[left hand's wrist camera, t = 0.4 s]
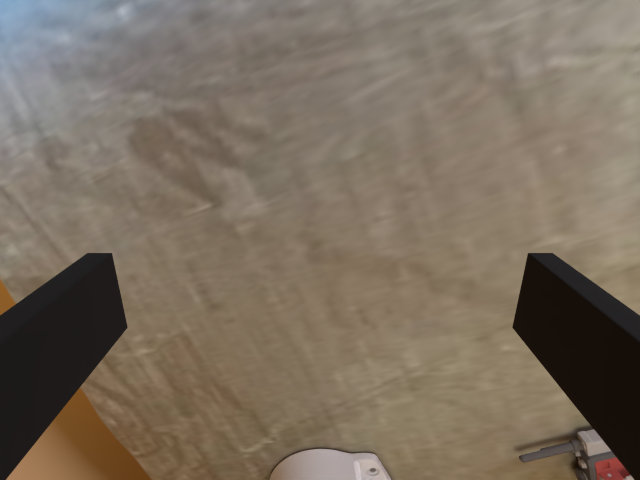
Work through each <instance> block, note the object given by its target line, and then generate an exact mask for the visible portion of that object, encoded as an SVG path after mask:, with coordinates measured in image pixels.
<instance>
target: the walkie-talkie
mask: <svg viewBox="0 0 640 480" xmlns="http://www.w3.org/2000/svg"><path fill="white" fill-rule="evenodd" d="M577 434H578V439H574V440H570V442H567V443H563V444H559V445H555V446H550V447H546V448H542V449H540V451H537V452H533V453H529V454H525V455H521V456H519V459H520V460H521V461H522V462H528V461H533V460H537V459H541V458H545V457H549V456H554V455H558V454H562V453H566V452H570V451H573V453H574V455H575V454H576V455H575V456H577V458H578V465H579V468H575V470H574V471H575V474H576V476H577V479H578V480H634V479H633V477H632V476H631V475H630V474H629V472H628V471H627V470H626V469H625V467H624V466H623V465H622V464H621V462H620V461H619V460H618V459H617V457H616V456H615V455H614V454H613V452H612V451H611V450H610V449H609V447H608V446H607V445H606V444H605V442H604V441H603V440H602V439H601V437H600V436H599V435H598V434H597V432H596V431H595V430H594V429H592V430H588V431H580V432H577Z"/></svg>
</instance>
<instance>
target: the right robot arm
mask: <svg viewBox="0 0 640 480" xmlns="http://www.w3.org/2000/svg"><path fill="white" fill-rule="evenodd" d="M269 480H391V478H390V476H389V475H388V473H387V472H386V470H385V468H384V467H383V465H382V464H381V462H380V460H379V459H378V457H377V456H376V455H375V454H373V453H353V454H352V453H345V452H341V451H337V450H331V449H312V450H306V451H302V452H299V453H296V454H293V455H291V456H289V457H287V458H286V459H284V460H283V461H282V462H280V463H279V464H278V465H277V466H276V468H275V469H274V470H273V472H272V474H271V476H270V479H269Z"/></svg>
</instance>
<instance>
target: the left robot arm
mask: <svg viewBox="0 0 640 480" xmlns="http://www.w3.org/2000/svg"><path fill="white" fill-rule="evenodd" d="M126 329H127V323H126V318H125V313H124V309H123V304H122V299H121V294H120V290H119V285H118V280H117V275H116V271H115V266H114V261H113V256H112V253H87V254H86V255H84V256H83V257H81V258H80V259H79V260H77V261H76V262H75V263H73V264H72V265H70V266H69V267H68V268H66V269H65V270H63V271H62V272H61V273H59V274H58V275H56V276H55V277H54V278H52V279H51V280H49V281H48V282H47V283H45V284H44V285H42V286H41V287H40V288H38V289H37V290H35V291H34V292H33V293H31V294H30V295H28V296H27V297H26V298H24V299H23V300H21V301H20V302H19V303H17V304H16V305H14V306H13V307H12V308H10V309H9V310H7V311H6V312H5V313H3V314H2V315H0V480H6V479H7V477H8V476H9V475H10V474H11V472H12V471H13V470H14V469H15V467H16V466H17V465H18V464H19V462H20V461H21V460H22V459H23V457H24V456H25V455H26V454H27V452H28V451H29V450H30V449H31V447H32V446H33V445H34V444H35V442H36V441H37V440H38V439H39V437H40V436H41V435H42V434H43V432H44V431H45V430H46V429H47V427H48V426H49V425H50V424H51V422H52V421H53V420H54V419H55V417H56V416H57V415H58V414H59V412H60V411H61V410H62V409H63V407H64V406H65V405H66V404H67V402H68V401H69V400H70V399H71V397H72V396H73V395H74V394H75V392H76V391H77V390H78V389H79V387H80V386H81V385H82V384H83V382H84V381H85V380H86V379H87V377H88V376H89V375H90V374H91V372H92V371H93V370H94V369H95V367H96V366H97V365H98V364H99V362H100V361H101V360H102V359H103V357H104V356H105V355H106V354H107V352H108V351H109V350H110V349H111V347H112V346H113V345H114V344H115V342H116V341H117V340H118V339H119V337H120V336H121V335H122V334H123V332H124V331H125V330H126ZM513 329H514V330H515V331H516V332H517V334H518V335H519V336H520V337H521V339H522V340H523V341H524V342H525V344H526V345H527V346H528V347H529V349H530V350H531V351H532V352H533V354H534V355H535V356H536V357H537V359H538V360H539V361H540V362H541V364H542V365H543V366H544V367H545V369H546V370H547V371H548V372H549V374H550V375H551V376H552V377H553V379H554V380H555V381H556V382H557V384H558V385H559V386H560V387H561V389H562V390H563V391H564V392H565V394H566V395H567V396H568V397H569V399H570V400H571V401H572V402H573V404H574V405H575V406H576V407H577V409H578V410H579V411H580V412H581V414H582V415H583V416H584V417H585V419H586V420H587V421H588V422H589V424H590V425H591V426H592V427H593V429H594V430H595V431H596V432H597V434H598V435H599V436H600V437H601V439H602V440H603V441H604V442H605V444H606V445H607V446H608V447H609V449H610V450H611V451H612V452H613V454H614V455H615V456H616V457H617V459H618V460H619V461H620V462H621V464H622V465H623V466H624V467H625V469H626V470H627V471H628V472H629V474H630V475H631V476H632V477H633V479H634V480H640V315H638V314H637V313H635V312H634V311H633V310H631V309H630V308H628V307H627V306H626V305H624V304H623V303H621V302H620V301H619V300H617V299H616V298H614V297H613V296H612V295H610V294H609V293H607V292H606V291H605V290H603V289H602V288H600V287H599V286H598V285H596V284H595V283H593V282H592V281H591V280H589V279H588V278H586V277H585V276H584V275H582V274H581V273H579V272H578V271H577V270H575V269H574V268H572V267H571V266H570V265H568V264H567V263H565V262H564V261H563V260H561V259H560V258H559V257H557V256H556V255H554V254H553V253H528V256H527V261H526V266H525V271H524V275H523V280H522V285H521V290H520V294H519V299H518V304H517V309H516V313H515V318H514V323H513Z"/></svg>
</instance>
